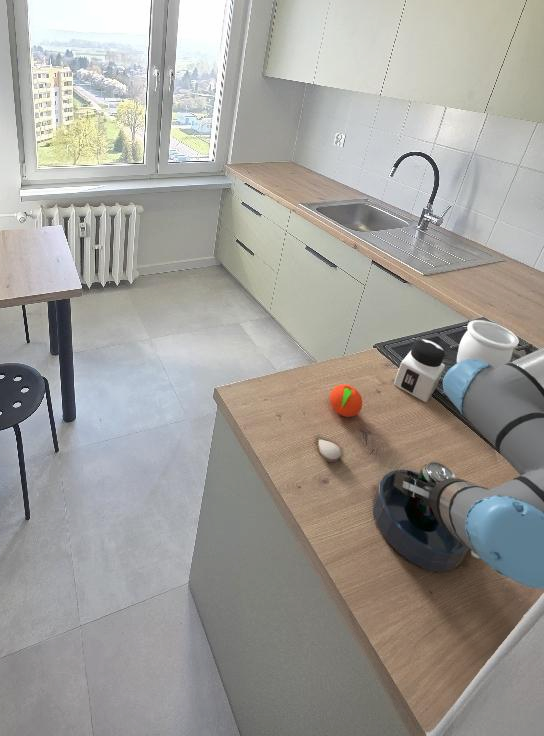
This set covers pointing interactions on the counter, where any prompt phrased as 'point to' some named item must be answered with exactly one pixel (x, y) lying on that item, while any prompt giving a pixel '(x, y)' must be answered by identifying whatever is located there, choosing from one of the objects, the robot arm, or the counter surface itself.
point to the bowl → (413, 531)
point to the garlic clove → (329, 450)
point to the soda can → (416, 506)
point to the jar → (487, 343)
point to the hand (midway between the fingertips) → (423, 487)
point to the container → (421, 369)
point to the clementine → (346, 400)
